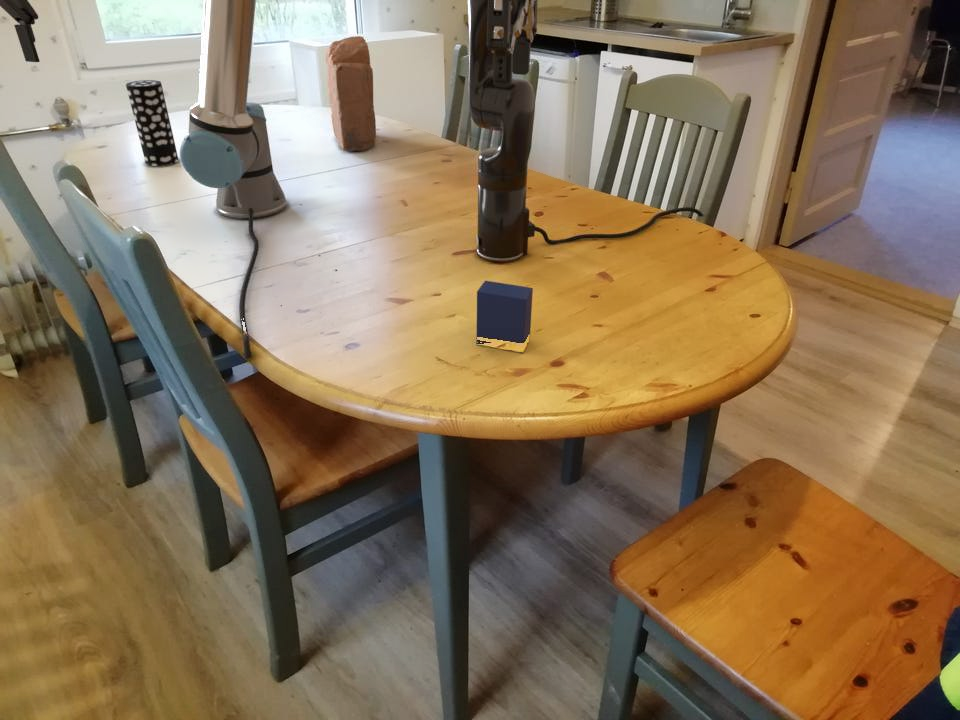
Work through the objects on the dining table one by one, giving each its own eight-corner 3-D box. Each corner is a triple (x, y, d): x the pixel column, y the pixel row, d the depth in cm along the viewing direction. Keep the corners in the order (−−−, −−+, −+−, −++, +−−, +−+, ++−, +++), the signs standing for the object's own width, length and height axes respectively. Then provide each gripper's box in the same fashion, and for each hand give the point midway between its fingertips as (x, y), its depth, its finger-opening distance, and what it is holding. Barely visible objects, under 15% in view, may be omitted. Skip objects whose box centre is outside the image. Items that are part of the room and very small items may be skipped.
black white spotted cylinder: (184, 157, 190) (167, 80, 179) (169, 166, 183) (151, 87, 172) (155, 156, 190) (136, 79, 179) (139, 165, 183) (119, 86, 172)
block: (484, 333, 112) (485, 280, 106) (529, 341, 110) (533, 287, 104) (476, 345, 108) (476, 291, 103) (523, 353, 106) (526, 299, 101)
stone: (383, 150, 197) (374, 42, 182) (343, 153, 194) (332, 44, 179) (369, 134, 214) (360, 34, 200) (332, 137, 211) (321, 36, 197)
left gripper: (3, -67, 129) (41, 55, 141) (-132, -65, 109) (-75, 78, 121) (35, -66, 127) (70, 58, 139) (-97, -64, 107) (-43, 81, 119)
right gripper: (502, -71, 85) (499, 68, 94) (465, -70, 74) (465, 89, 83) (562, -70, 84) (552, 72, 92) (533, -69, 72) (526, 93, 81)
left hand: (3, 67), depth 130 cm, fingers open, 13 cm apart
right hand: (511, 80), depth 88 cm, fingers open, 8 cm apart
